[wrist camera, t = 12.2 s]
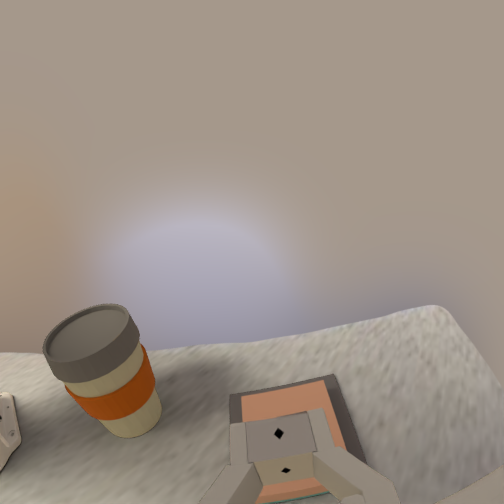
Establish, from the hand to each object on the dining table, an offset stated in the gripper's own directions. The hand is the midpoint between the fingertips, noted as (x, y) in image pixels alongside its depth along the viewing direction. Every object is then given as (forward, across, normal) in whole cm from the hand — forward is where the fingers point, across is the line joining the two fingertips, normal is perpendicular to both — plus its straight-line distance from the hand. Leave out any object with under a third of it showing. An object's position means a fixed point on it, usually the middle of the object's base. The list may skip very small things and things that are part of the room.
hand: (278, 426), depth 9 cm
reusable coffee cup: (+21, +21, +24) cm, 38 cm away
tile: (+6, 0, +21) cm, 22 cm away
